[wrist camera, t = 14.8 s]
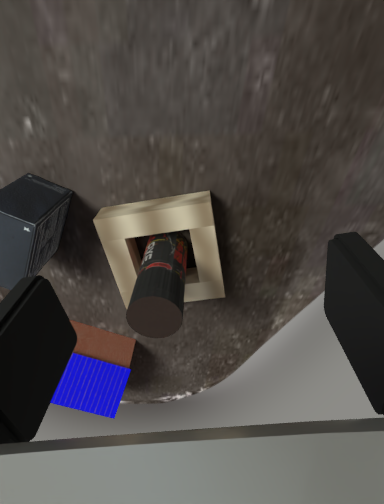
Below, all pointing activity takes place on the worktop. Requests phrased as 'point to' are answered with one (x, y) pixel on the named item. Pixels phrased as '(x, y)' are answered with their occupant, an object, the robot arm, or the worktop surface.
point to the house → (95, 371)
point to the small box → (30, 226)
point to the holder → (161, 221)
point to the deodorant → (159, 287)
